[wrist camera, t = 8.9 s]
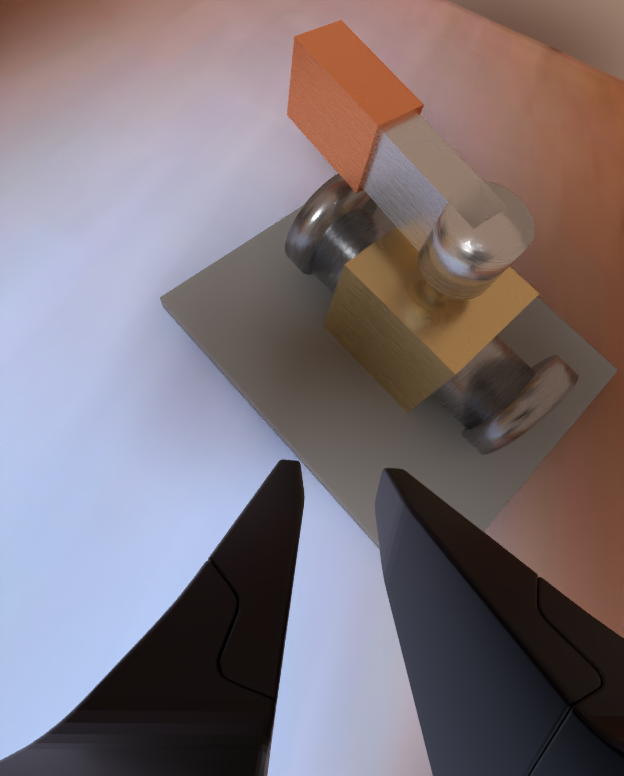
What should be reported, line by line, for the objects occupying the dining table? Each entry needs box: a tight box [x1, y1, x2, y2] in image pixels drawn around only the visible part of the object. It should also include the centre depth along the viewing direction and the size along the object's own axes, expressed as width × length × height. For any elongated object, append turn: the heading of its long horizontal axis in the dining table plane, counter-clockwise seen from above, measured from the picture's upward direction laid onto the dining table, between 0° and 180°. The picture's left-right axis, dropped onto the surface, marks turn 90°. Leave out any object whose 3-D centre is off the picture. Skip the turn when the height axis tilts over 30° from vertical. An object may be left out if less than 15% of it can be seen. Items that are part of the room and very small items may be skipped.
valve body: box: [285, 174, 579, 455], centre depth 18 cm, size 12×5×6 cm, turn 43°
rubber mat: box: [160, 206, 618, 549], centre depth 21 cm, size 17×15×1 cm
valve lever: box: [287, 20, 535, 300], centre depth 15 cm, size 10×3×3 cm, turn 37°
